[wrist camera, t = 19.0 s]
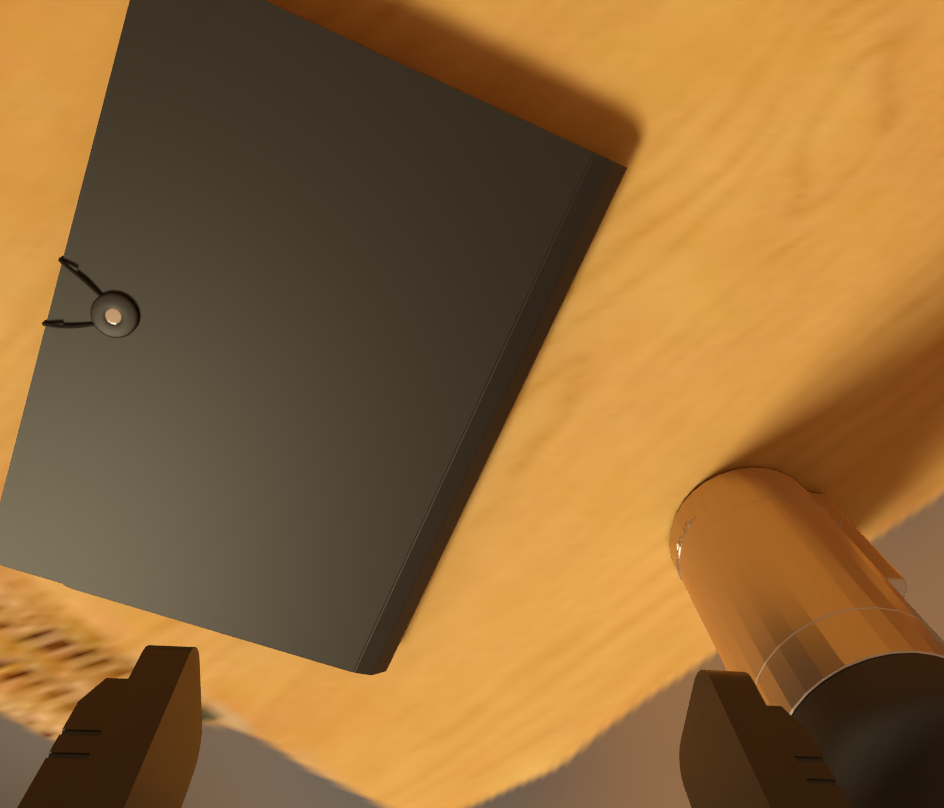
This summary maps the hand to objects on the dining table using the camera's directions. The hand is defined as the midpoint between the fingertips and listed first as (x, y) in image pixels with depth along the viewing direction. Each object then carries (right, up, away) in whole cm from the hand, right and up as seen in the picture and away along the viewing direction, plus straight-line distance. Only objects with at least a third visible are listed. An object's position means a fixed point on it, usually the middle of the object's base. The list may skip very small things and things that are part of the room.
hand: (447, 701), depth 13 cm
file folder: (-10, +8, +33) cm, 35 cm away
